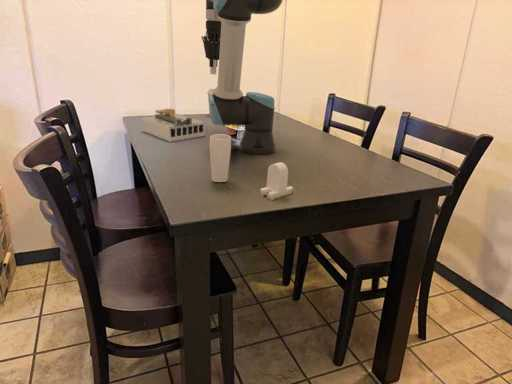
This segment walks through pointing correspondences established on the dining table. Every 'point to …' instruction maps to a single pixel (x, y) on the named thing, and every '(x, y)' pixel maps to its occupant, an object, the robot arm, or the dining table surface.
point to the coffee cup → (210, 92)
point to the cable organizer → (277, 180)
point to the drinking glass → (220, 156)
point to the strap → (171, 118)
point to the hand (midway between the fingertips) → (213, 74)
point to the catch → (166, 112)
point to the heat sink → (173, 128)
